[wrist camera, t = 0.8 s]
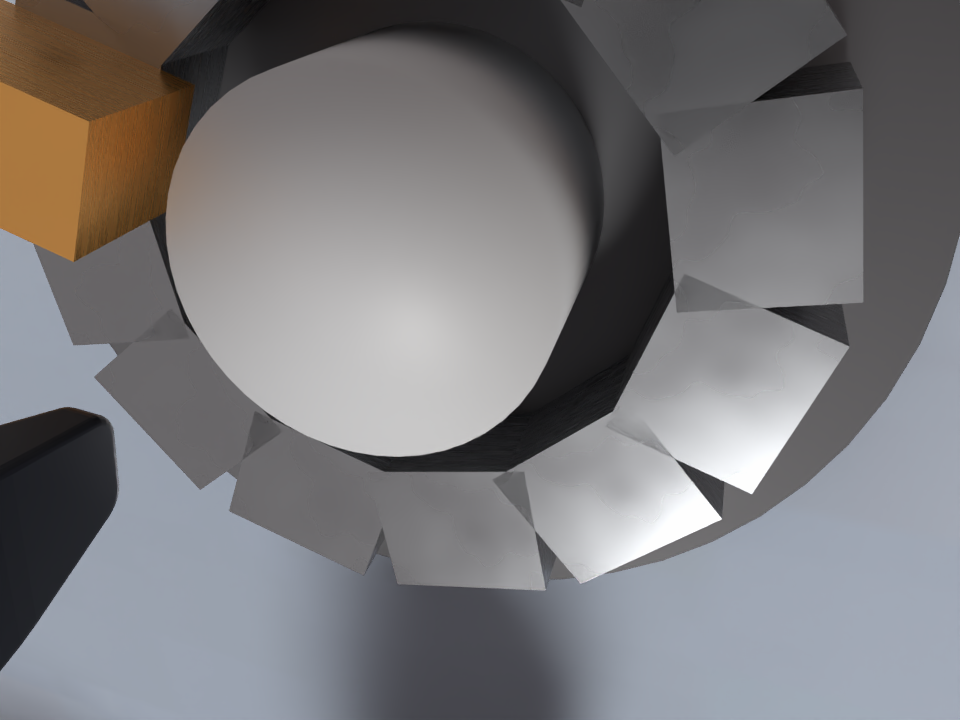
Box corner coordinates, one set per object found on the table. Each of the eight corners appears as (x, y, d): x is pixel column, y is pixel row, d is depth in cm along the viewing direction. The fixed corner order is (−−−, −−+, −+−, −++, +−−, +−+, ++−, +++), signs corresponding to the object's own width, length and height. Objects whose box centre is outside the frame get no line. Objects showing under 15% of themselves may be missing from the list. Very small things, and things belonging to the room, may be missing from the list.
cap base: (97, -580, 15) (-196, -783, 11) (1237, -135, 14) (1474, -145, 9) (21, 359, 26) (-146, 465, 21) (675, 669, 24) (653, 857, 20)
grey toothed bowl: (104, -429, 15) (-183, -565, 11) (1053, -47, 14) (1192, -12, 10) (35, 340, 23) (-143, 452, 19) (631, 622, 22) (595, 814, 18)
